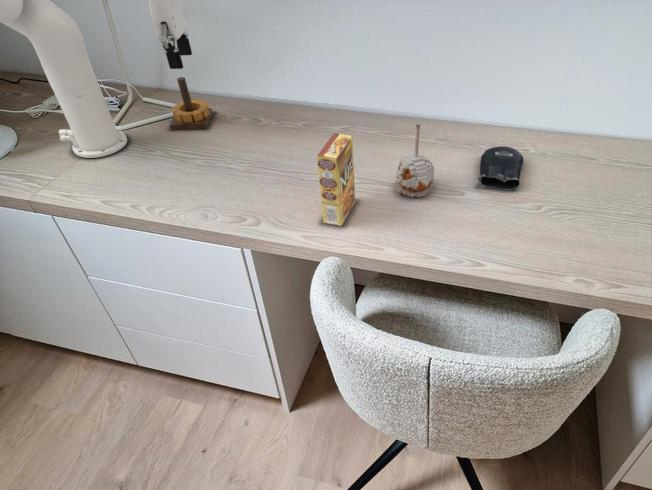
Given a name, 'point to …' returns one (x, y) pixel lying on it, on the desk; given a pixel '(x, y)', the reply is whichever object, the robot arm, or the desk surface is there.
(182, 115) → the ring
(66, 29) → the robot arm
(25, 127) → the desk surface
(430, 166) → the caramel apple
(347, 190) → the candy box
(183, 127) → the stand
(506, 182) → the electronic device
